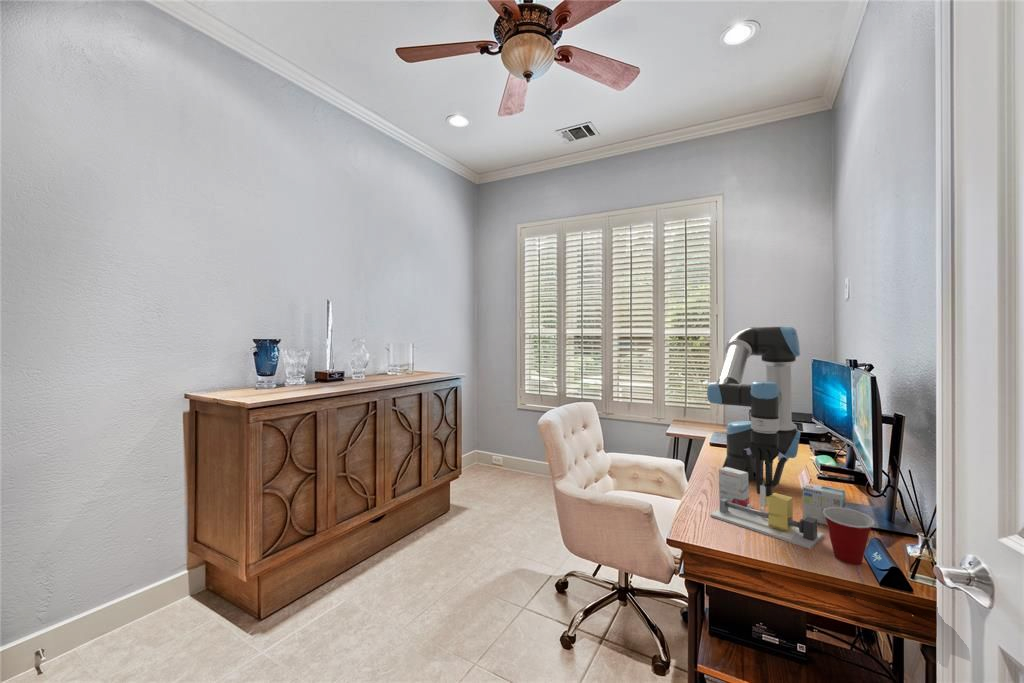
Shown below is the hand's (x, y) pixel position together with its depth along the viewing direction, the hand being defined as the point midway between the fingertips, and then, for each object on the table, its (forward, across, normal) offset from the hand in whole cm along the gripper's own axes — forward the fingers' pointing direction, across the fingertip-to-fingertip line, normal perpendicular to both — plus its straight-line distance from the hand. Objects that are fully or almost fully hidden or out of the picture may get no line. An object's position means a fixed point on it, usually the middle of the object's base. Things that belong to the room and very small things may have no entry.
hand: (764, 505), depth 130 cm
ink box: (+7, -14, +12) cm, 20 cm away
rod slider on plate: (+7, 0, 0) cm, 7 cm away
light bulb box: (+7, +11, +19) cm, 23 cm away
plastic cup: (+7, +22, -5) cm, 23 cm away
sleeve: (+5, +5, 0) cm, 7 cm away
